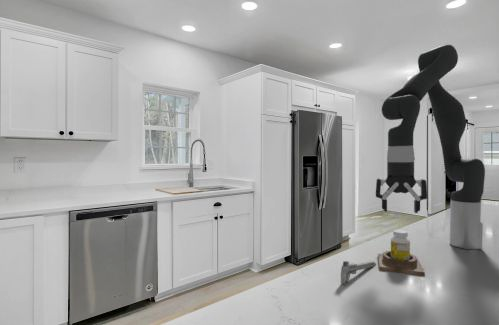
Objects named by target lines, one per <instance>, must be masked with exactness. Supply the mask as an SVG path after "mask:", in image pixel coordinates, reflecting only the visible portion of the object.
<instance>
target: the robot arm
mask: <svg viewBox="0 0 499 325" xmlns="http://www.w3.org/2000/svg"><path fill="white" fill-rule="evenodd" d="M458 61H459V55H458V52H457V49H456V48H455V47H454V45H452V44H443V45H440V46H438V47H435V48H432V49H429V50H426V51H424V52H422V53H421V54H420V55H419V56H418V59H417V65H418V71H419V72H418V73H416V74H414V75H413V76H412V77H411V78H409V80H408V81H406V83H404V85H403V86H402V88H399V90H397V91H395V92H394V93H392V94H390V95H389V96H388V97H387V98H386V99H385V100H384V102H383V103H382V105H381V114H382V116H383V118H385V119H386V120H388V121H396V120H401V123H399V125H398V126H397V125H396V126H395V127H392V128H390V129H389V130H388V132H387V151H386V153H387V154H386V155H387V156H386V179H384V178H383V179H382V178H379V177H378V178H377V179H376V181H375V182H376V184H375V185H376V186H375V197H376V198H377V199H381V208H382V210H383V211H384V212H387V213H388V200H387V198H388V197H389V196H390V195H391V194H392V193H394V194H400V193H401V194H407V193H410V195H411V196H412V197H413V198H414V200H413V212H414V213H415V214H418V213H419V212H421V201H423V200H427V199H428V190H427V188H428V187H427V180H426V179H424V178H421V179H415V148H414V132H415V128H416V123H417V121H418V118H419V114H420V111H421V103H420V102H421V101H422V100H424V98H425V96H426V95H428V99H429V102H430V106H431V109H432V113H433V119H434V123H435V126H436V129H437V134H438V136H439V142H440V146H441V150H442V157H443V164H444V171H445V173H446V176H447V178H448V179H449V180H450V181H452V182H454V183H455V182H456V183H462V188H460V189H459V190H455V191H451V193H450V207H449V208H450V209H449V210H450V211H449V225H450V226H449V244H450V245H451V246H453V247H456V248H458V249H459V248H460V249H465V250H483V235H484V234H483V233H484V232H483V227H484V225H483V222H481V220H482V218H481V216H482V197H483V195H484V189H485V180H486V179H485V178H486V168H485V165H484V162H483V161H482V160H480V159H479V158H471V157H470V158H467V157H462V154H461V149H460V142H461V139H462V137H463V135H464V132H465V130H466V127H467V117H466V114H465V111H464V107H463V104H462V103H461V102H460V101H459V99H457V98H456V97H455V96H454V95H452V94H451V93H450V92H448V91H447V90H446V89H445V88H444V87H443V86H442V84H441V82H440V80H442V79H443V77H445V76H446V75H447V74H448V73H449V72H451V71H453V69H455V67H456V66H457V65H458ZM384 184H386V185H387V186H388V187H387V189H386V190H385V192H384V193H383V194H382V193H381V187H382V186H383V185H384ZM416 184H417V186H418V187H420V195H418V194H417V193H416V191H415V190H414V189H413V188H414V186H416Z"/></svg>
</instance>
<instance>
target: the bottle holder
mask: <svg viewBox="0 0 499 325" xmlns="http://www.w3.org/2000/svg"><path fill="white" fill-rule="evenodd" d="M377 261H378V266H379V267H378V268H379V271H387V272H393V273H400V274H401V273H402V274H410V275H415V276H416V275H417V276H422V277H423V276H425V273H426V272H425V270H424V268H423V266H422V264H421V262H420V260H419V258H418V257H417V256H416V255H414V254H412V253H410V260H405V261H404V260H396V259H393V258H391V250H385V251H383V252H382V253H377Z"/></svg>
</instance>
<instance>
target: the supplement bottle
mask: <svg viewBox="0 0 499 325" xmlns="http://www.w3.org/2000/svg"><path fill="white" fill-rule="evenodd" d="M392 232H393V236H391V238H390V251H391V258H393V259H396V260H404V261H405V260H410V254H411V240H410V238H408V236H409V234H408V231H406V230H403V229H394V230H393V231H392Z"/></svg>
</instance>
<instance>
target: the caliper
mask: <svg viewBox="0 0 499 325" xmlns="http://www.w3.org/2000/svg"><path fill="white" fill-rule="evenodd" d="M376 265H377V263H376V262H375V261H373V260H369V261H365V262H361V263H360V262H359V263H355V262H354V263H353V262H352V263H350V261H347V260H345V261H343V262H342V265H341V268H340V270H341V271H340V284H341V285H343V286H345V285H346V284H349V282H350V278H351V275H354V274H355V275H356V274H357V272H358V271H362V270H364V269H370V268H373V267H375V266H376Z"/></svg>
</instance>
